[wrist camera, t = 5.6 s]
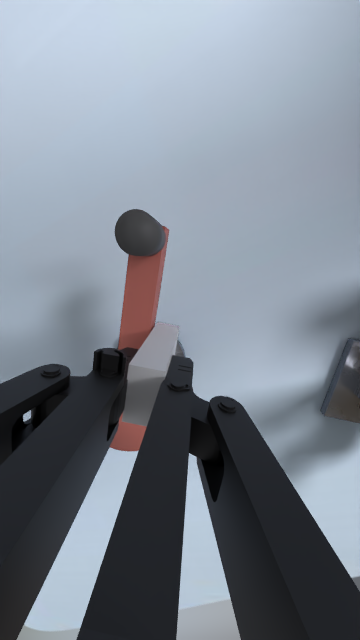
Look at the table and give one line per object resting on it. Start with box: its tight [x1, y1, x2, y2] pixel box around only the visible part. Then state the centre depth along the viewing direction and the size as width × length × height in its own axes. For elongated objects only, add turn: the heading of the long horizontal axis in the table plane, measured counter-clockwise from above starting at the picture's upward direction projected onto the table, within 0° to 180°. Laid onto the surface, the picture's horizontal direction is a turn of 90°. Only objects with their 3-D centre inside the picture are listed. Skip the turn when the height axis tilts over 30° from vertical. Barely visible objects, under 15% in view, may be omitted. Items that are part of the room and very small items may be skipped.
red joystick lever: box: [110, 209, 169, 451], centre depth 14 cm, size 15×6×4 cm, turn 170°
